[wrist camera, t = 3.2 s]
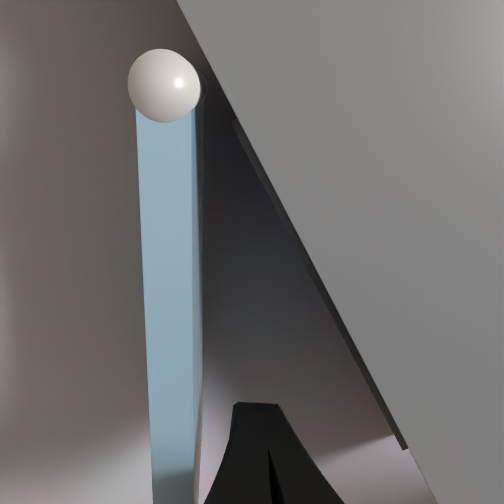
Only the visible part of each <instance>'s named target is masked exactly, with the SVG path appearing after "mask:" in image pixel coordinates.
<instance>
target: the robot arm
mask: <svg viewBox="0 0 504 504" xmlns="http://www.w3.org/2000/svg"><path fill="white" fill-rule="evenodd" d="M204 504H345V503H344V502H343V501H342V499H341V498H340V497H339V496H338V494H337V493H336V492H335V491H334V489H333V488H332V487H331V485H330V484H329V483H328V481H327V480H326V479H325V477H324V476H323V475H322V473H321V472H320V470H319V469H318V467H317V466H316V465H315V463H314V462H313V460H312V459H311V457H310V456H309V454H308V453H307V451H306V450H305V448H304V447H303V445H302V443H301V442H300V440H299V439H298V437H297V435H296V434H295V432H294V430H293V429H292V427H291V425H290V423H289V422H288V420H287V418H286V416H285V414H284V413H283V411H282V409H281V407H280V406H279V405H278V404H266V403H248V402H237V403H236V404H235V405H233V412H232V420H231V428H230V436H229V441H228V444H227V447H226V450H225V454H224V457H223V460H222V462H221V465H220V468H219V470H218V472H217V475H216V477H215V480H214V482H213V485H212V487H211V489H210V492H209V494H208V496H207V498H206V500H205V502H204Z"/></svg>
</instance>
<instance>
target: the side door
mask: <svg viewBox="0 0 504 504" xmlns="http://www.w3.org/2000/svg"><path fill="white" fill-rule="evenodd" d="M127 86H128V92H129V96H130V99H131V101H132V103H133V105H134V106H135V108H136V129H137V151H138V174H139V196H140V219H141V241H142V264H143V286H144V309H145V331H146V354H147V376H148V398H149V421H150V443H151V466H152V488H153V504H198V495H199V476H200V458H201V439H202V417H203V101H204V99H205V97H206V95H207V83H206V80H205V78H204V76H203V75H202V73H201V72H200V71H199V70H197V69H196V68H195V67H194V66H193V65H192V64H191V63H189V62H188V61H187V60H186V59H185V58H184V57H182V56H181V55H179V54H178V53H176V52H173V51H171V50H167V49H154V50H150V51H148V52H146V53H144V54H142V55H141V56H140V57H138V58H137V59H136V61H135V62H134V63H133V65H132V67H131V69H130V71H129V75H128V82H127Z"/></svg>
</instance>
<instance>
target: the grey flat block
mask: <svg viewBox="0 0 504 504" xmlns="http://www.w3.org/2000/svg"><path fill="white" fill-rule="evenodd" d="M176 2H177V4H178V6H179V8H180V10H181V11H182V13H183V15H184V17H185V19H186V21H187V23H188V25H189V27H190V29H191V31H192V33H193V35H194V36H195V38H196V40H197V42H198V44H199V46H200V48H201V50H202V52H203V54H204V56H205V58H206V60H207V62H208V63H209V65H210V67H211V69H212V71H213V73H214V75H215V77H216V79H217V81H218V83H219V85H220V87H221V88H222V90H223V92H224V94H225V96H226V98H227V100H228V102H229V104H230V106H231V108H232V110H233V112H234V114H235V115H236V117H237V119H236V120H234V121H232V123H233V126H234V129H235V132H236V134H237V137H238V139H239V140H240V142H241V144H242V146H243V148H244V150H245V152H246V154H247V156H248V158H249V159H250V161H251V163H252V165H253V167H254V169H255V171H256V173H257V175H258V177H259V178H260V180H261V182H262V184H263V186H264V188H265V190H266V192H267V194H268V196H269V197H270V199H271V201H272V203H273V205H274V207H275V209H276V211H277V213H278V215H279V216H280V218H281V220H282V222H283V224H284V226H285V228H286V230H287V232H288V234H289V235H290V237H291V239H292V241H293V243H294V245H295V247H296V249H297V251H298V253H299V254H300V256H301V258H302V260H303V262H304V264H305V266H306V268H307V270H308V272H309V273H310V275H311V277H312V279H313V281H314V283H315V285H316V287H317V289H318V291H319V292H320V294H321V296H322V298H323V300H324V302H325V304H326V306H327V308H328V310H329V311H330V313H331V315H332V317H333V319H334V321H335V323H336V325H337V327H338V329H339V330H340V332H341V334H342V336H343V338H344V340H345V342H346V344H347V346H348V348H349V349H350V351H351V353H352V355H353V357H354V359H355V361H356V363H357V365H358V367H359V368H360V370H361V372H362V374H363V376H364V378H365V380H366V382H367V384H368V386H369V387H370V389H371V391H372V393H373V395H374V397H375V399H376V401H377V403H378V405H379V406H380V408H381V410H382V412H383V414H384V416H385V418H386V420H387V422H388V424H389V425H390V427H391V429H392V431H393V433H394V435H395V437H396V439H397V441H398V443H399V444H400V446H401V448H402V450H406V449H409V450H410V452H411V454H412V456H413V458H414V460H415V462H416V464H417V466H418V468H419V470H420V471H421V473H422V475H423V477H424V479H425V481H426V483H427V485H428V487H429V489H430V491H431V492H432V494H433V496H434V498H435V500H436V502H437V504H504V0H176Z"/></svg>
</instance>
